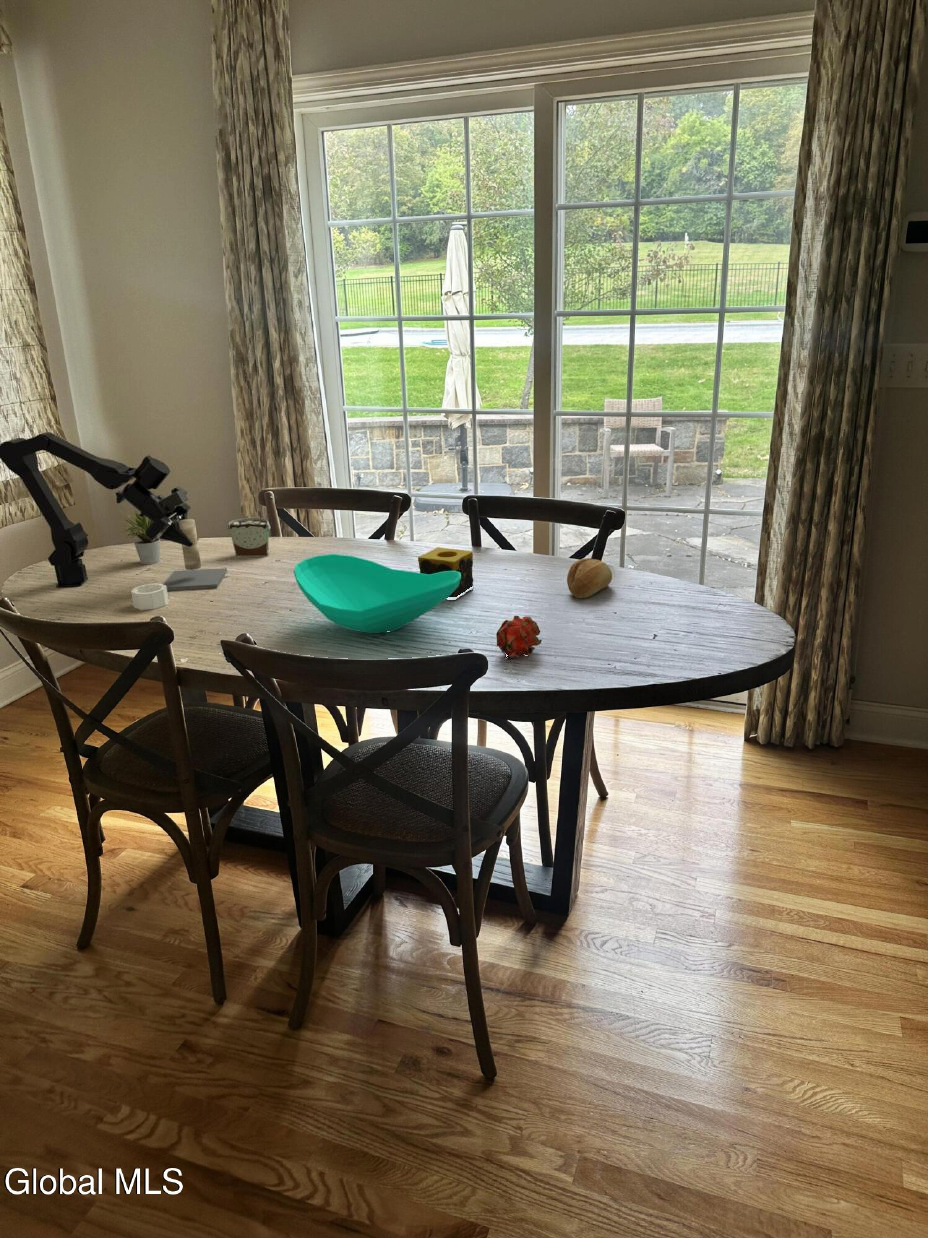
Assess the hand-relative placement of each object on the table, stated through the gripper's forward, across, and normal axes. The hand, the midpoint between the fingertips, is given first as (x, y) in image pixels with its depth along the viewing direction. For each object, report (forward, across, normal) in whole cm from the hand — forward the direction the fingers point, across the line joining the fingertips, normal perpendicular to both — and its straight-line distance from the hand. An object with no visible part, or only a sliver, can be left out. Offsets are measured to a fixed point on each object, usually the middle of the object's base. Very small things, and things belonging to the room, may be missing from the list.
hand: (194, 543), depth 221 cm
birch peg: (+4, 0, +6) cm, 7 cm away
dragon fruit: (+66, -52, -51) cm, 98 cm away
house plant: (-8, +20, +23) cm, 31 cm away
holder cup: (+3, -18, +12) cm, 21 cm away
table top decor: (+44, -36, -30) cm, 64 cm away
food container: (+13, +25, +2) cm, 28 cm away
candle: (+54, -13, -39) cm, 68 cm away
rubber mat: (+6, 0, +8) cm, 10 cm away
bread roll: (+78, -14, -64) cm, 102 cm away
